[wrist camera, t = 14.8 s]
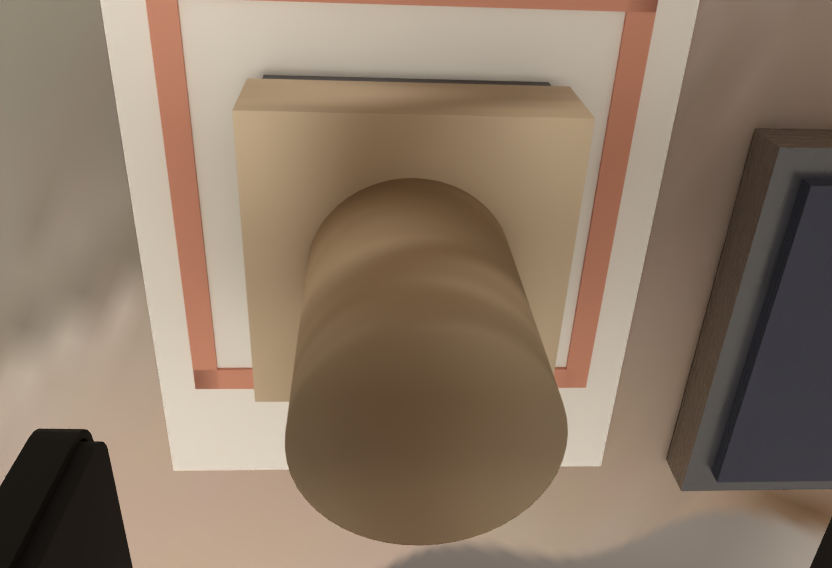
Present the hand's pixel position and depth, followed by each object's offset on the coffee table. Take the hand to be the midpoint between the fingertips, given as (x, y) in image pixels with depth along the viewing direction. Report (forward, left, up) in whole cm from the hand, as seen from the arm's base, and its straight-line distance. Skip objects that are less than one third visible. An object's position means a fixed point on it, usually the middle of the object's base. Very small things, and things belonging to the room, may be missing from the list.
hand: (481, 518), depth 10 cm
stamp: (+1, 0, -9) cm, 9 cm away
